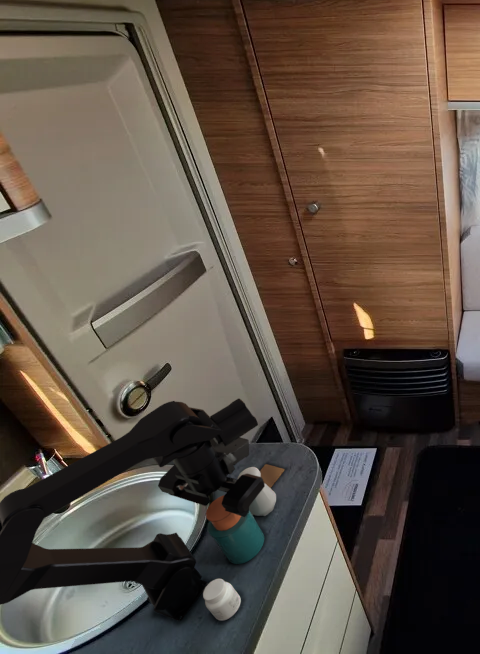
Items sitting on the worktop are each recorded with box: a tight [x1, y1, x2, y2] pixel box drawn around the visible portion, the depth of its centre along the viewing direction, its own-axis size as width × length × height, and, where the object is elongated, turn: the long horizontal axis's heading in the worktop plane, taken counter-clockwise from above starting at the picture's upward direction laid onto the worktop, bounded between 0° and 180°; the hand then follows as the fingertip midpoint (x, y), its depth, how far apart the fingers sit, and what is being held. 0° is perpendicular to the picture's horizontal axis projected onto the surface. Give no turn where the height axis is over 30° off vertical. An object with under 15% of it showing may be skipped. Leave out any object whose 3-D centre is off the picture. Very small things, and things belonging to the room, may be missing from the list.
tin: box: [207, 510, 265, 565], centre depth 86 cm, size 7×7×11 cm
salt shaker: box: [236, 466, 277, 517], centre depth 93 cm, size 6×6×13 cm
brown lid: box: [205, 494, 241, 531], centre depth 82 cm, size 5×5×4 cm
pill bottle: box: [202, 578, 242, 622], centre depth 78 cm, size 4×4×8 cm
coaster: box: [259, 463, 285, 489], centre depth 102 cm, size 6×6×1 cm
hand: (226, 509), depth 83 cm, fingers open, 9 cm apart
